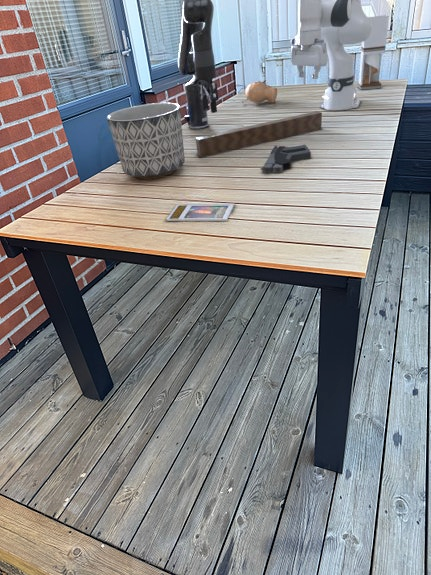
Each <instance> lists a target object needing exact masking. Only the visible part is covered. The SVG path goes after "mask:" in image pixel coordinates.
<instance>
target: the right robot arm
mask: <svg viewBox="0 0 431 575" xmlns="http://www.w3.org/2000/svg"><path fill="white" fill-rule="evenodd" d="M297 8H298V9H297V10H298V11H297V20H298V29H297V35H296V36H294V37H293V38H291V39H290V45H291V48H290V63H291V65H292V66H296V69H297V72H298V78H304V77H305V71H304V67H313V70H314V72H313V73H312V79H313V80H318V79H319V74H320V72H321V68H323V67H327V65H328V64H329V65H328V66H329V67H328V68H329V71H328V74H329V75H328V79H327V80H328V81H327V88H326V89H325V91H324V95H322V98H323V104H321V106H320V108H322V109H324V110H326V111H345V110H346V111H347V110H352V109H358V108H359V106H360V104H361V99H358V98H357V89H356V87H355V86H354V80H355V74H354V57H353V56H352V55H351V54H350V53H349V52H347V51H346V50H345V47H344V45H345V46H346V45H357V44H360V43H361V44H362V42H364V41H366V40H367V39H368V37H369V36H370V33H371V29H372V25H371V21H370V19H369V18H368V17H369V16H367V15H366V13H365V12H364V10H363V7H362V1H361V0H299V1H298V7H297Z"/></svg>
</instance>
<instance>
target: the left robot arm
mask: <svg viewBox="0 0 431 575" xmlns="http://www.w3.org/2000/svg"><path fill="white" fill-rule="evenodd" d="M214 6H215V5H214V3H213V1H212V0H183V4H182V13H181V14H182V16H181V34H180V43H179V50H178V51H179V52H178V59H177V67H178V71H179V74H180V75H181V76H182V77H188V76H189V77H190V76H193V77H192V79H191V80H190V81H189V82H187V83H185V85H184V91H185V96H186V98H185V99H186V106H187V107H186V111H187V115H184V116H183V117H184V122H186V123H187V125H188V127H189V128H190V129H191V130H200V129H206V128H208V127H209V126H210V125H209V124H210V123H209V119H208V110H209V109H210V112H211V113H212V114H216V113H217V112H218V107H217V102H218V101H219V91H218V84H217V82H213V79H215V78H216V77H217V71H216V70H217V69H216V60H215V55H214V54H215V53H214V49H213V39H212V28H213V20H214V11H215V7H214ZM192 50H193V51H192ZM191 51H192V52H191ZM209 105H210V106H209Z"/></svg>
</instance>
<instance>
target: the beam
mask: <svg viewBox="0 0 431 575" xmlns="http://www.w3.org/2000/svg"><path fill="white" fill-rule="evenodd" d="M322 120H323V112H321V111H316V110H315V111H312V112H307V113H303V114H302V113H301V114H298V115H293V116H289V117H284V118H280V119H279V118H278V119H275V120H271V121H266V122H262V123H257V124H253V125H252V124H251V125H248V126H244V127H238V128H235V129H230V130H226V131H221V132H217V133H212V134H207V135H202V136H199V137H195V144H196V145H195V146H196V152H197V154H196V155H197V156H198V157H200V158H205V157H208V156H212V155H217V154H221V153H225V152H226V153H227V152H230V151H234V150H239V149H242V148H246V147H247V148H248V147H252V146H255V145H260V144H265V143H269V142H272V141H273V142H274V141H276V140H281V139H285V138H291V137H294V136H299V135H302V134H307V133H310V132H315V131H319V130H322V123H323V121H322Z"/></svg>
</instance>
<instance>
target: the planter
mask: <svg viewBox="0 0 431 575" xmlns="http://www.w3.org/2000/svg"><path fill="white" fill-rule="evenodd" d="M106 121H107V125H108V127H109V130H110V133H111V137H112V140H113V143H114V147H115V149H116V153H117V156H118V159H119V162H120V165H121V169H122V172H123V173H124V174H125V175H127V176H130V177H134V178H138V179H142V180H143V179H144V180H150V179H158V178H163V177H165V176H168V175H171V174H172V173H174V171H177V170H178V169H180V168H181V167H183V165H184V164H185V162H186V160H185V148H184V135H183V125H182V115H181V105H179V104H178V103H173V102H155V103H154V102H153V103H144V104H139V105H134V106H133V105H132V106H130V107H124V108H121V109H118V110H115V111H113V112H110V113H109V114H108V115H106Z"/></svg>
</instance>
